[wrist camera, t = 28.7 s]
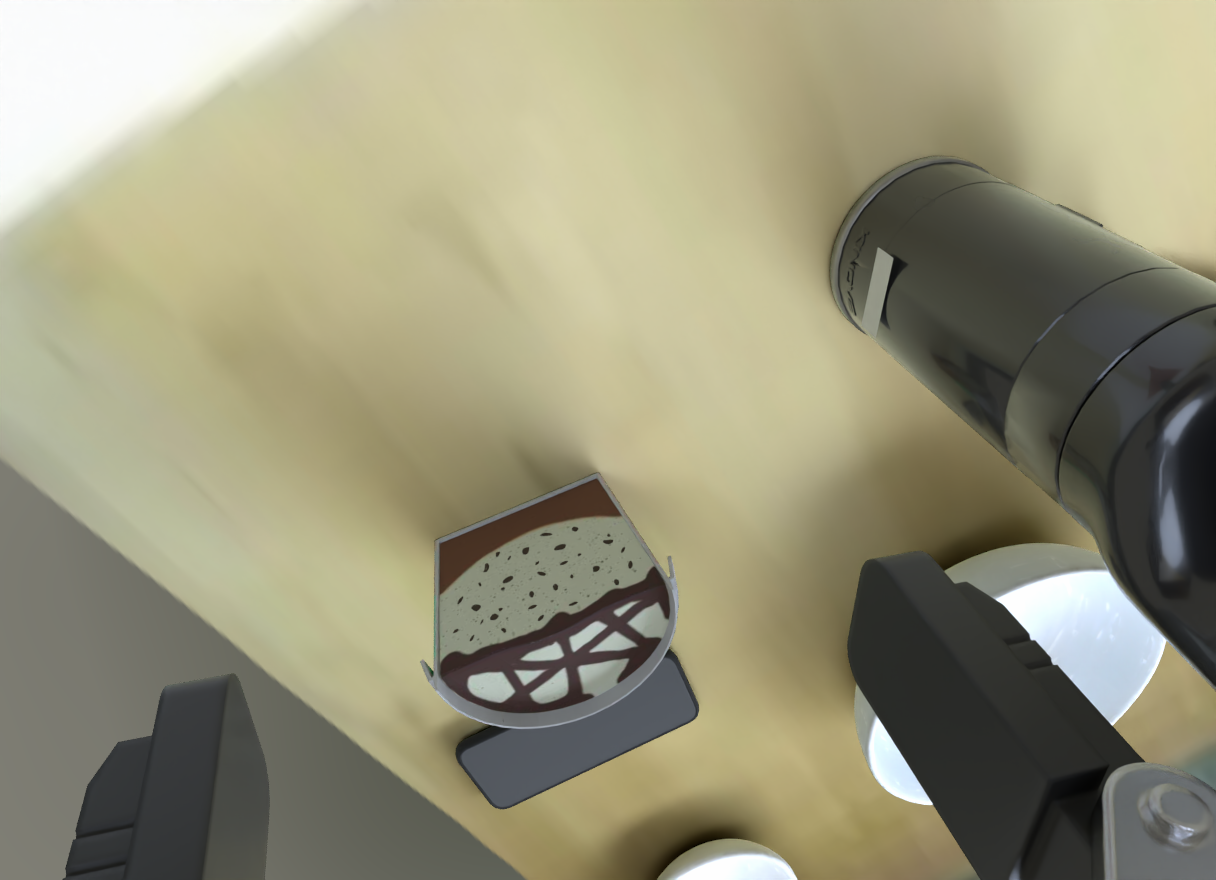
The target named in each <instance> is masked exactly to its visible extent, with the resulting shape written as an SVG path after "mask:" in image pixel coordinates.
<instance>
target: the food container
mask: <svg viewBox="0 0 1216 880" xmlns="http://www.w3.org/2000/svg"><path fill="white" fill-rule="evenodd" d="M668 563H669V570H670V576H671V577H667V575H666V574H665V572H664V571H663V569H662V568H661V566H660V565H659V563H658V561H657V560H656V558H655V557H654V555H653V554H652V552H651V551H650V549H649V548H648V546H647V545H646V543H645V542H644V540H643V539H642V537H641V536H640V534H639V532H638V531H637V529H636V528H635V526H634V525H633V523H632V522H631V520H630V519H629V517H628V516H627V514H626V513H625V511H624V510H623V508H622V507H621V505H620V503H619V502H618V500H617V499H616V497H615V496H614V494H613V493H612V491H611V490H610V488H609V487H608V485H607V484H606V482H605V481H604V479H603V478H602V476H601V474H600V473H599V472H598V473H596V474H593V475H591V476H588V477H586V478H584V479H581V480H579V481H576V482H574V483H572V484H569V485H567V486H564V487H562V488H560V489H557V490H555V491H552V492H550V493H548V494H545V495H543V496H540V497H538V498H536V499H533V500H531V501H528V502H526V503H524V504H521V505H519V506H516V507H514V508H512V509H509V510H507V511H504V512H502V513H500V514H497V515H495V516H492V517H490V518H488V519H485V520H483V521H480V522H478V523H476V524H473V525H471V526H468V527H466V528H464V529H461V530H459V531H456V532H454V533H451V534H449V535H447V536H444V537H442V538H439V539H437V540H435V569H434V671H432V669H431V668H430V667H429V666H428V665H427V663H426V662H425V661H424V660H422V661H420V663H421V665H422V667H423V670H424V672H425V675H426V677H427V679H428V682H429V683H430V684H431V685H432V687H433V688H434V689H435V691H436V692H437V693H438V694H439V695H440V697H441V698H442V699H443V700H444V701H445V702H446V703H447V704H449V705H450V706H451V707H452V708H454V709H455V710H456V711H458V712H460V713H462V714H463V715H465V716H467V717H469V718H471V719H474V720H477V721H479V722H482V723H485V724H489V725H494V726H499V727H504V728H516V729H531V728H544V727H551V726H558V725H562V724H566V723H570V722H574V721H577V720H580V719H582V718H585V717H588V716H591V715H593V714H596V713H598V712H600V711H602V710H604V709H606V708H608V707H610V706H612V705H613V704H615V703H616V702H618V701H620V700H621V699H623V698H624V697H626V696H627V695H628V694H630V693H631V692H632V691H633V690H635V689H636V688H637V687H639V686H640V685H641V684H642V683H643V682H644V681H645V680H646V679H647V678H648V677H649V676H650V675H651V674H652V673H653V671H654V670H655V669H656V667H657V666H658V665H659V663H660V662H661V661H662V659H663V657H664V656H665V654H666V652H667V650H668V648H669V647H670V644H671V641H672V639H673V636H674V633H675V629H676V622H677V613H678V607H679V605H678V589H677V583H676V577H675V571H674V567H673V563H672V559H671V556H668Z"/></svg>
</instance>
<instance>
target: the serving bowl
mask: <svg viewBox="0 0 1216 880" xmlns="http://www.w3.org/2000/svg"><path fill="white" fill-rule="evenodd" d="M944 572H945V573H946V574H947V575H948V577H949V578H950V579H951V580H952V581H953V582H954V584H955V583H960V582H966V581H967V582H968V583H970V584H971V585H973V586H975V587H976V588H978V589H979V590H981V591H983V592H984V593H986V594H987V595H989V596H990V597H992V598H994V599H995V600H997V601H998V602H1000V603H1002V604H1003V605H1004V606H1005V607H1006V608H1007V609H1008V610H1009V611H1010V613H1011V614H1012V615H1013V616H1014V617H1015V618H1016V619H1017V620H1018V622H1019V623H1020V624H1021V625H1022V626H1023V627H1024V628H1025V629H1026V630H1027V632H1028V633H1029V634H1030V639H1031V640H1036V642H1037V643H1038V644H1039V645H1040V646H1041V647H1042V648H1043V649H1044V650H1045V652H1046V653H1047V654H1048V655H1049V656H1050V657H1051V661H1052V663H1053V665H1058V666H1059V667H1060V668H1061V669H1062V670H1063V672H1064V673H1065V674H1066V675H1067V676H1068V677H1069V678H1070V679H1071V681H1072V682H1073V683H1074V684H1075V685H1076V686H1077V687H1078V688H1079V689H1080V691H1081V692H1082V693H1083V694H1084V695H1085V696H1086V697H1087V698H1088V699H1089V701H1090V702H1091V703H1092V704H1093V705H1094V706H1095V707H1096V708H1097V709H1098V711H1099V712H1100V713H1101V714H1102V715H1103V716H1104V717H1105V718H1106V719H1107V721H1108V722H1109V723H1110V724H1111V725H1113V724H1114V723H1115V722H1116V721H1117V720H1118V719H1119V718H1120V717H1121V716H1122V715H1123V714H1124V713H1125V712H1126V710H1127V709H1128V708H1129V707H1130V706H1131V705H1132V703H1133V702H1134V701H1135V700H1136V699H1137V697H1138V696H1139V695H1140V693H1141V692H1142V690H1143V689H1144V688H1145V686H1146V685H1147V683H1148V681H1149V680H1150V678H1151V677H1152V675H1153V673H1154V671H1155V669H1156V667H1157V665H1158V663H1159V661H1160V659H1161V656H1162V653H1163V650H1164V647H1165V642H1166V639H1165V638H1164V637H1163V636H1162V635H1161V634H1160V633H1159V632H1158V631H1157V630H1156V629H1155V628H1154V627H1153V626H1152V625H1151V623H1150V622H1149V621H1148V620H1147V619H1146V618H1145V617H1144V616H1143V615H1142V614H1141V613H1140V612H1139V611H1138V610H1137V609H1136V608H1135V607H1134V606H1133V605H1132V604H1131V603H1130V602H1129V601H1128V599H1127V598H1126V597H1125V596H1124V594H1123V593H1122V592H1121V591H1120V590H1119V588H1118V587H1117V585H1116V584H1115V582H1114V581H1113V579H1112V578H1111V576H1110V574H1109V572H1108V570H1107V568H1106V566H1105V564H1104V562H1103V559H1102V557H1101V554H1099V553H1096V552H1093V551H1090V550H1087V549H1084V548H1080V547H1076V546H1071V545H1065V544H1055V543H1029V544H1019V545H1013V546H1007V547H1003V548H998V549H995V550H991V551H988V552H985V553H982V554H979V555H976V556H974V557H971V558H969V559H967V560H964V561H962V562H960V563H958V564H956V565H954V566H952V567H950V568H948V569H947V570H945V571H944ZM854 713H855V723H856V729H857V734H858V738H859V741H860V745H861V748H862V751H863V754H864V756H865V758H866V761H867V763H868V766H869V768H870V770H871V772H872V774H873V776H874V777H875V779H876V780H877V781H878V783H879V784H880V785H881V786H882V787H883V788H884V789H886V790H887V791H888V792H890V793H891V794H893V795H895V796H897V797H899V798H901V799H904V800H906V801H910V802H913V803H919V804H925V805H933V804H932V802H931V801H930V799H929V797H928V796H927V794H926V793H925V791H924V789H923V788H922V786H921V785H920V783H919V782H918V780H917V778H916V777H915V775H914V774H913V772H912V771H911V769H910V767H909V766H908V764H907V763H906V761H905V760H904V758H903V756H902V755H901V753H900V752H899V750H898V748H897V747H896V745H895V744H894V742H893V741H892V739H891V737H890V736H889V734H888V733H887V731H886V730H885V728H884V726H883V725H882V723H881V722H880V720H879V718H878V717H877V715H876V714H875V712H874V711H873V709H872V707H871V706H870V704H869V703H868V701H867V700H866V698H865V696H864V695H863V693H862V692H861V690H860V688H859V687H858V685H857V684H856V690H855V701H854Z"/></svg>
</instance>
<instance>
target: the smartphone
mask: <svg viewBox="0 0 1216 880" xmlns="http://www.w3.org/2000/svg"><path fill="white" fill-rule="evenodd" d="M698 712H699V705H698V702H697V700H696V698H695V695H694V693H693V691H692V689H691V687H690V684H689V682H688V680H687V678H686V676H685V673H684V671H683V669H682V667H681V665H680V662H679V660H678V658H677V656H676V655H675V654H674V653H673V652H672V651H671V650H667V652H666V654H665V656H664V657H663V659H662V661H661V662H660V663H659V665H658V666H657V667H656V669H655V670H654V671H653V673H652V674H651V675H650V676H649V677H648V678H647V679H646V680H645V681H644V682H643V683H642V684H641V685H640V686H639V687H637V688H636V689H635V690H633V691H632V692H631V693H630V694H628V695H627V696H626V697H624V698H623V699H621V700H620V701H618V702H616V703H615V704H613V705H612V706H610V707H608V708H606V709H604V710H602V711H600V712H598V713H596V714H593V715H591V716H588V717H585V718H582V719H580V720H577V721H574V722H570V723H566V724H562V725H558V726H551V727H544V728H531V729H516V728H504V727H499V726H492V727H490V728H488V729H486V730H484V731H482V732H479V733H477V734H475V735H473V736H471V737H469V738H467V739H465V740H463V741H462V742H461V743H459V744H458V746H457V748H456V758H457V761H458V763H459V764H460V765H461V767H462V768H463V769H464V771H465V772H466V773H467V774H468V776H469V777H470V778H471V780H472V781H473V782H474V784H475V785H476V786H477V787H478V789H479V790H480V791H481V793H482V794H483V795H484V797H485V798H486V799H487V800H488V802H489V803H490V804H491V805H492V806H493V807H495V808H498V809H507V808H510V807H512V806H515V805H517V804H519V803H521V802H523V801H525V800H527V799H529V798H531V797H534V796H536V795H538V794H540V793H542V792H544V791H546V790H548V789H551V788H553V787H555V786H557V785H559V784H561V783H563V782H565V781H567V780H570V779H572V778H574V777H576V776H578V775H580V774H582V773H584V772H586V771H589V770H591V769H593V768H595V767H597V766H599V765H601V764H603V763H605V762H608V761H610V760H612V759H614V758H616V757H618V756H620V755H622V754H624V753H627V752H629V751H631V750H633V749H635V748H637V747H639V746H641V745H643V744H646V743H648V742H650V741H652V740H654V739H656V738H658V737H660V736H662V735H665V734H667V733H669V732H671V731H673V730H675V729H677V728H679V727H681V726H683V725H686V724H688V723H690V722H691V721H693V720H694V719H695V718H696V717H697V716H698Z"/></svg>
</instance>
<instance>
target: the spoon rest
mask: <svg viewBox="0 0 1216 880" xmlns="http://www.w3.org/2000/svg"><path fill="white" fill-rule="evenodd" d="M657 880H797V878H796V876H795V874H794V872H793V870H792V869H791V867H790V866H789V865H788V863H787V862H786V861H785V860H784V859H783V858H781V857H780V856H779V855H778V854H777V853H775V852H774V851H773V850H771V849H769V848H767V847H765V846H763V845H761V844H758V843H755V842H752V841H748V840H742V839H720V840H715V841H710V842H707V843H704V844H701V845H698V846H696V847H694V848H692V849H690V850H688V851H686V852H685V853H683V854H682V855H680V856H679V857H677V858H676V859H675V860H674V861H673V862H672V863H671V864H669V865H668V866H667V868H666V869H665V870H664V871H663V872H662V873H661V875H660V876H659V877H658V879H657Z"/></svg>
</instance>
